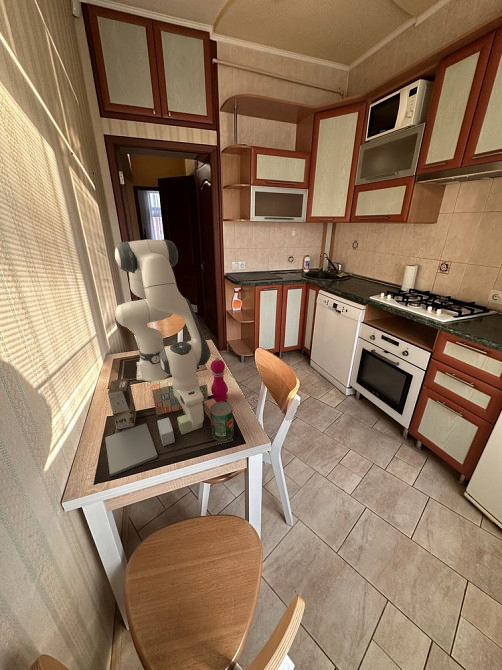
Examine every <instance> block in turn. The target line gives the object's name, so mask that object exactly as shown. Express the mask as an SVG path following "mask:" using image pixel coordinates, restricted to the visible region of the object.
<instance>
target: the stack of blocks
mask: <svg viewBox="0 0 502 670" xmlns="http://www.w3.org/2000/svg"><path fill="white" fill-rule="evenodd" d="M150 382H151V384H150V385H151V393H152V398H153V404H154V409H155V413H156V415H157V416H159V415H164V414H167V413H172V411H173V412H176V411H179V410H183V408H182V406H181V404H180V402H179V401H178V399H177V398H176V397H175V396H174V392H173V385H172V377H170V378H168V377H167V378H164V379H162V380H158V381H150ZM198 382H199V386H200V390H201V392H202V395H203V398H204V401H207V400H209V392H208V383H207V381H206V380H205V377H200V378H198ZM204 401H202V404H203V405H204Z"/></svg>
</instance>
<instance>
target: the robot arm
mask: <svg viewBox="0 0 502 670" xmlns="http://www.w3.org/2000/svg"><path fill="white" fill-rule="evenodd" d="M114 259H115V262H116V264H117V265H118V267H119V269H120V270H123V272H126V273H128V278H129V287H130V288H129V289H130V291H131V292H132V294H133V295H135V296H136V297H138V298H141V299H139V300H138V299H137V300H132V301H126V302H123V303H121V304H118V305H117V306H116V308H115V311H114V318H115V319H116V321H117V323H118V324H119V325H121V327H125V328H126V329H128V330H130V331H131V332H132V333H133V334H134V335H135V337H136V339H137V344H138V347H139V354H138V355H139V361H136V367H137V369H136V380H137V381H145V382H153V381H158V380H164V379H167V378H168V377H169V376H171V378H172V385H173V392H174V396H175V397H176V398H177V399H178V401H179V402H180V404H181V406H182V408H183V409H182V411H183V414H184V415H186V414H187V416H188V418H189V419H190V421H191V425H192V428H193V429H196V428H198V424H200V423H202V422H204V419H205V417H204V404H202V401H204V398H203V395H202V392H201V390H200V386H199V382H198V379H199V377H198V375H197V370H198V367H199V366H206V364H207V363H208V361H209V360H210V358H211V357H212V356H211V354H212V353H211V348H210V346H209V344H208V342H207V340H206V338H205V336H204V333H203V331H202V328H201V326H200V323H199V320H198V317H197V315H196V313H195V310H194V308H193V306H192V303H191V302H190V300H189V299H188V298H186V297H184V296H183V295H182V294H181V292H180V290H179V289H178V285H177V282H176V281H177V280H176V277H175V274H174V271H173V268H174V267H175V266H176V264H177V263H178V260H179V253H178V250H177V246H176V244H175V243H174V242H173V241H171V240H168V239H162V240H161V239H142V240H141V239H139V240H132V241H127V240H126V241H122V242H119V243H117V245H116V246H115V249H114ZM173 315H176V316H177V315H178V317H180V318H182V320H183V321H184V323H185V326H186V327H187V331H188V333H189V336H190V340H188V341H176V342H174V343H172V344H171V345H167V346H164V345H165V344H164V339H163V334H162V332H161V331H160V330H159V329H157V328H152V327H149V326H148V324H149V323H154V322H159V321H163V320H166V319H169V318H170V317H172V316H173ZM196 430H197V429H196Z"/></svg>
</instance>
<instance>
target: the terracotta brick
mask: <svg viewBox="0 0 502 670" xmlns="http://www.w3.org/2000/svg"><path fill="white" fill-rule="evenodd" d="M214 403H217V402H216V401H215V400H214V399H213V398H211V399H208V400H207V401H204V404H203V407H204V413H205V414H206V415H207V417H208V418H209V419H210V420H211V415H210V407H211V406H212V405H213V404H214Z"/></svg>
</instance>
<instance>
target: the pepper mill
mask: <svg viewBox="0 0 502 670" xmlns="http://www.w3.org/2000/svg"><path fill="white" fill-rule="evenodd" d="M225 369H226V364H225V362H224V361H223V360H222V359H220V357H218V356H216V357H215V359H214V360H212V362H211V363H210V370H211V371H212V372H211V373H212V376H213V382H212V384H211V387H210V392H211V394H212V399H214V400H215V401H216V402H222V401H223V402H226V401H227V400H228V392H229V387H228V385H227V383H226V381H225V380H224V375H225Z"/></svg>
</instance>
